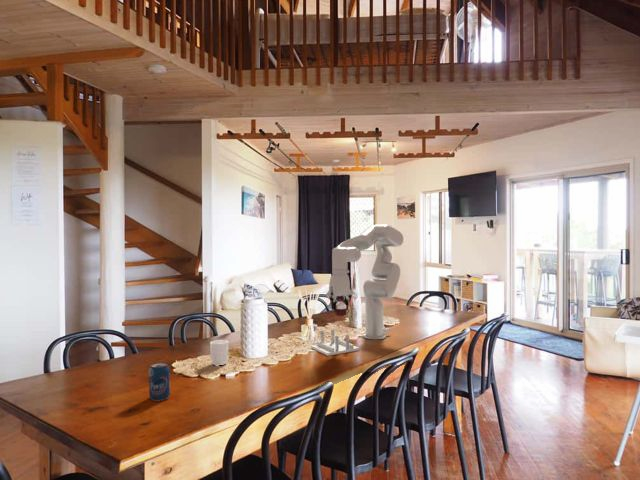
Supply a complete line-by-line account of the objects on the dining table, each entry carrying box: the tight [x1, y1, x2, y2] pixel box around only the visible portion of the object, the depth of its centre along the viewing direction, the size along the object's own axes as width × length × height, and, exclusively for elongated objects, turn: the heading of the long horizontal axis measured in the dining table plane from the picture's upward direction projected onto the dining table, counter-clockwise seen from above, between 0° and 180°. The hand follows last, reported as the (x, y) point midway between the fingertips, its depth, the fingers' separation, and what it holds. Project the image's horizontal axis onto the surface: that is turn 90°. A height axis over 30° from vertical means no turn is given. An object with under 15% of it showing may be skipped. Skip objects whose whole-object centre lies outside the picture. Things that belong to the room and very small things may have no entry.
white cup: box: [209, 339, 229, 365], centre depth 195 cm, size 8×8×10 cm
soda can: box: [148, 361, 171, 402], centre depth 157 cm, size 7×7×12 cm
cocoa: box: [333, 300, 350, 317], centre depth 216 cm, size 10×6×12 cm, turn 44°
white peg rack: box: [310, 328, 360, 357], centre depth 217 cm, size 18×16×8 cm
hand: (339, 308), depth 216 cm, fingers closed on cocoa, 6 cm apart
